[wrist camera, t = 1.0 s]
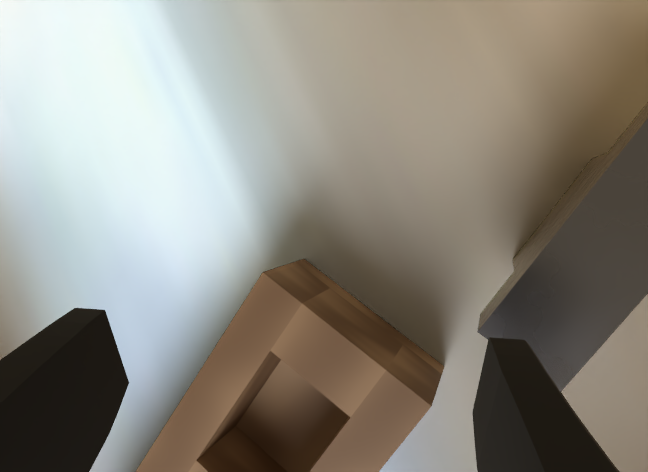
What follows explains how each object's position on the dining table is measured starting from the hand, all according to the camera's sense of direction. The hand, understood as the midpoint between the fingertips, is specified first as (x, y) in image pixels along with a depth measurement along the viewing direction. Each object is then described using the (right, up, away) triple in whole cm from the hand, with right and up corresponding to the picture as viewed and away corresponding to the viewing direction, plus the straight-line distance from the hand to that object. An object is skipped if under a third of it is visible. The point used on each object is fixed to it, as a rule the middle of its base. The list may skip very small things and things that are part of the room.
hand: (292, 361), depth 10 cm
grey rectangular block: (+11, +3, +11) cm, 16 cm away
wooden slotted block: (-3, -9, +16) cm, 19 cm away
